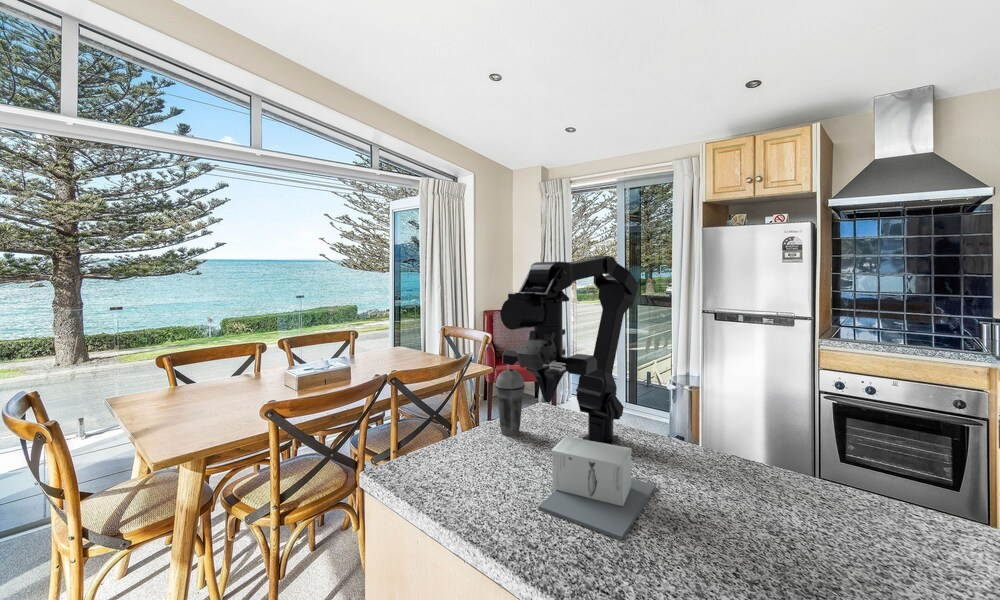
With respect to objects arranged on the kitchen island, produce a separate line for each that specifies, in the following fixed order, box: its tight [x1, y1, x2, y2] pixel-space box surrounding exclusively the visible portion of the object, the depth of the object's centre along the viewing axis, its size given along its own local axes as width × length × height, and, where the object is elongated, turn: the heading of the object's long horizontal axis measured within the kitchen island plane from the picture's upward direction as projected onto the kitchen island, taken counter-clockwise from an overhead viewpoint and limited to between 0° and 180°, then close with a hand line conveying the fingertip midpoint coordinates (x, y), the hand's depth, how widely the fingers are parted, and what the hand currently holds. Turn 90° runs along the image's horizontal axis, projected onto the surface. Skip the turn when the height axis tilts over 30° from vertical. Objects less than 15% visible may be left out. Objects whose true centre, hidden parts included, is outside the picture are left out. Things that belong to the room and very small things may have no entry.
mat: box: [537, 477, 657, 541], centre depth 72 cm, size 18×14×1 cm
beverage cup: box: [494, 364, 526, 437], centre depth 102 cm, size 7×7×20 cm
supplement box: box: [551, 435, 632, 506], centre depth 74 cm, size 7×7×13 cm
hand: (547, 402), depth 84 cm, fingers closed
